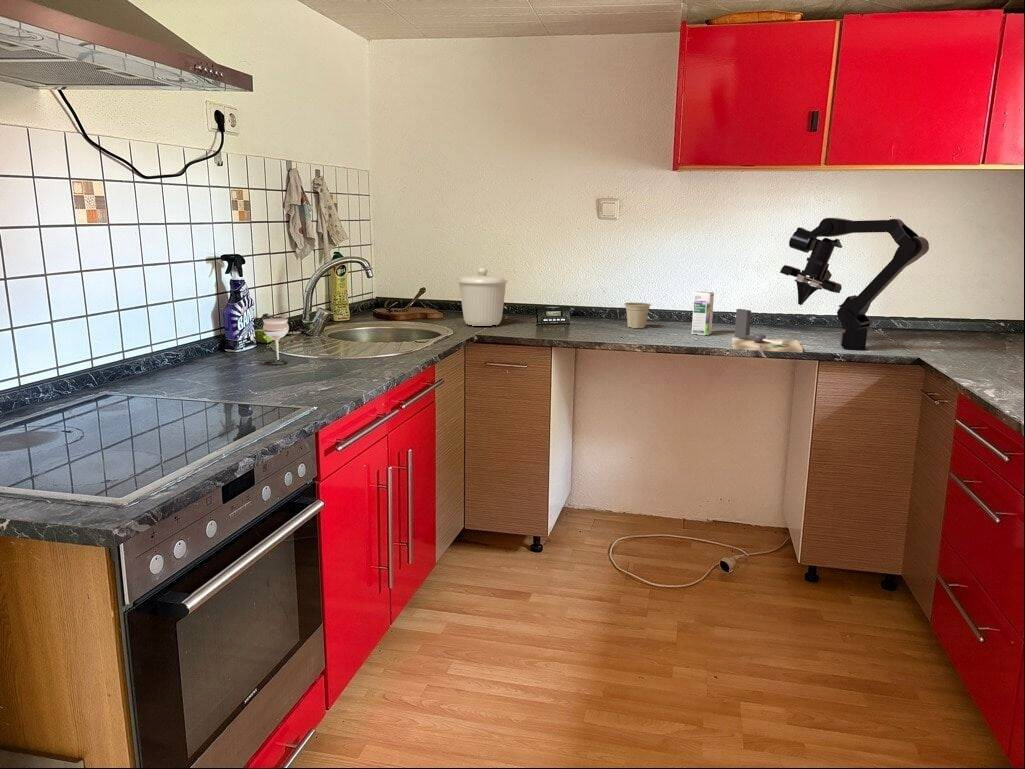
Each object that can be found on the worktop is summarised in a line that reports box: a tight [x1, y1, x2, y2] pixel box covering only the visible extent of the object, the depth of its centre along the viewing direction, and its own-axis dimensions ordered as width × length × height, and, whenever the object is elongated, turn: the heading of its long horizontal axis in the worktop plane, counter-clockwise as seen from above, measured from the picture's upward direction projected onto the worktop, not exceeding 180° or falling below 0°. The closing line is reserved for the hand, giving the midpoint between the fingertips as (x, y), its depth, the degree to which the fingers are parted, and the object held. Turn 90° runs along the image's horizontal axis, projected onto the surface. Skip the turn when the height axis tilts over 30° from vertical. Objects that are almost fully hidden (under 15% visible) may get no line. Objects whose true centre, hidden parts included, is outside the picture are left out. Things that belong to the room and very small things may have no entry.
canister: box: [457, 267, 508, 327], centre depth 280 cm, size 18×18×21 cm
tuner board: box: [731, 337, 804, 353], centre depth 240 cm, size 20×17×1 cm
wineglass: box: [262, 317, 290, 361], centre depth 209 cm, size 7×7×12 cm
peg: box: [734, 308, 783, 345], centre depth 240 cm, size 4×20×9 cm, turn 25°
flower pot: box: [624, 302, 652, 329], centre depth 277 cm, size 9×9×9 cm
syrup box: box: [691, 291, 715, 336], centre depth 262 cm, size 6×6×14 cm
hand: (799, 304), depth 245 cm, fingers closed
